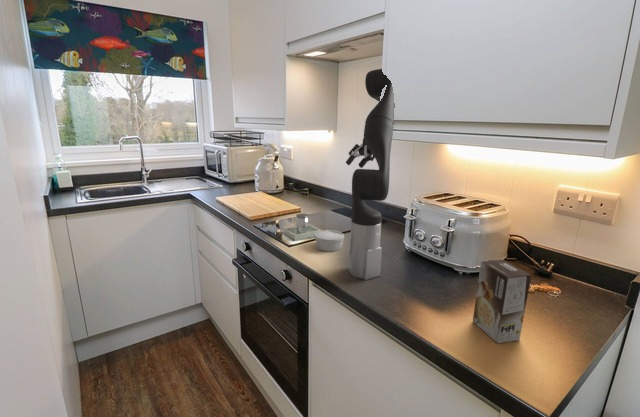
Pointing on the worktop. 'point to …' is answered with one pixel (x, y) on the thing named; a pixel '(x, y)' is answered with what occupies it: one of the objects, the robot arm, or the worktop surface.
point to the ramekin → (329, 240)
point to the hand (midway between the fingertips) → (353, 165)
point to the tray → (294, 236)
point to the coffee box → (501, 300)
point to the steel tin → (302, 223)
